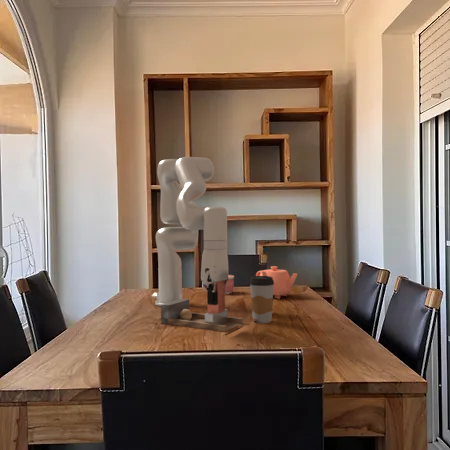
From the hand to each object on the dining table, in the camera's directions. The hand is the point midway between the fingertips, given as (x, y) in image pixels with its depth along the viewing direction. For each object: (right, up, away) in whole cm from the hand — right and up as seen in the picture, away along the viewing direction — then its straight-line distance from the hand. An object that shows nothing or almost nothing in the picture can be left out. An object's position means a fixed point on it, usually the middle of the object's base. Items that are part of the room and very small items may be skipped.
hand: (216, 302), depth 143 cm
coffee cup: (+15, -8, +10) cm, 20 cm away
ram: (0, -7, 0) cm, 7 cm away
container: (+2, -7, +68) cm, 69 cm away
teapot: (+25, -7, +56) cm, 62 cm away
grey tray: (-5, -8, +3) cm, 10 cm away
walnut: (-10, -7, +6) cm, 14 cm away
